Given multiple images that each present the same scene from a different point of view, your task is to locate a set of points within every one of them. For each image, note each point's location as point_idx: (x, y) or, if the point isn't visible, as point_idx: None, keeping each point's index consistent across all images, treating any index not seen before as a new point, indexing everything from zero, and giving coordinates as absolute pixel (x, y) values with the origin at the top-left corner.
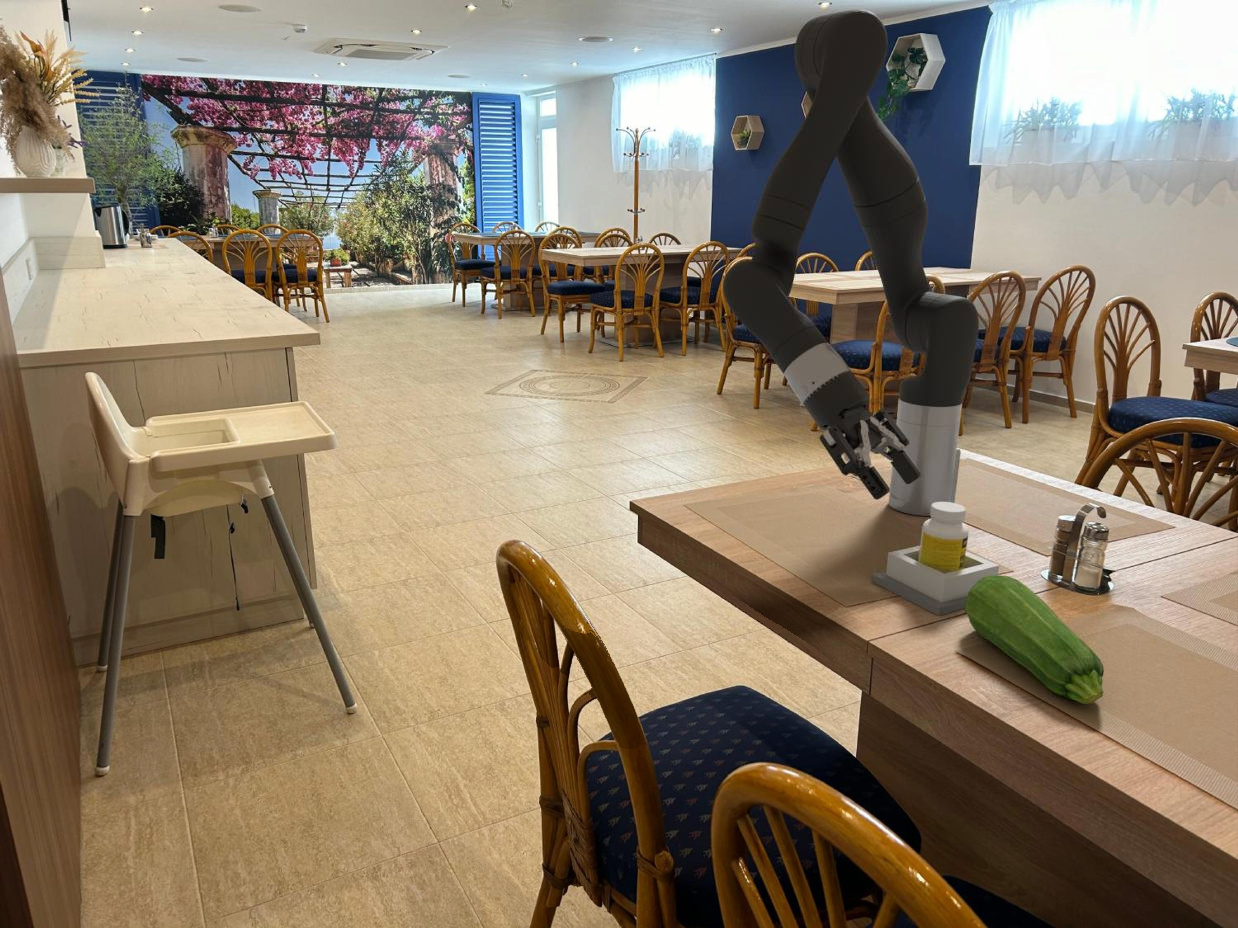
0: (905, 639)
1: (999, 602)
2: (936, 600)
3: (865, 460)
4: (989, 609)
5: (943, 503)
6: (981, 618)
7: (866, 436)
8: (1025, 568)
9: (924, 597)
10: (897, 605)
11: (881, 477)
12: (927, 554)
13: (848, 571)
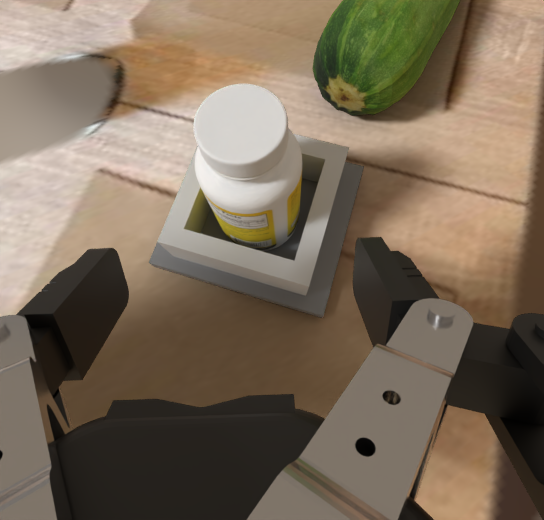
0: (473, 170)
1: (429, 15)
2: (340, 182)
3: (456, 324)
4: (431, 38)
5: (220, 143)
6: (425, 62)
7: (345, 437)
8: (73, 160)
9: (344, 200)
10: (377, 235)
11: (375, 263)
12: (299, 198)
13: (312, 379)
